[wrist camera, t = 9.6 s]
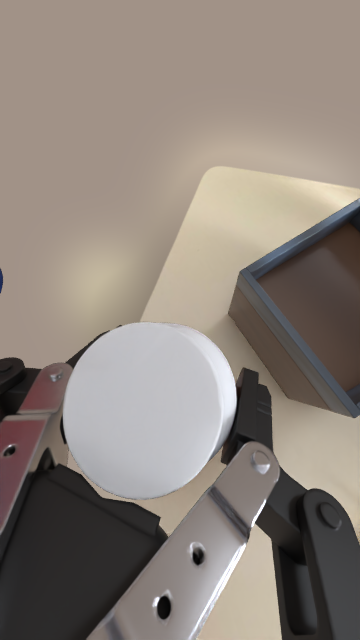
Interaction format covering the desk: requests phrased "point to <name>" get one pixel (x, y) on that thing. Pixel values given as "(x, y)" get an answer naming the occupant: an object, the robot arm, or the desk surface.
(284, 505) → the robot arm
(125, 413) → the pill bottle
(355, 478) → the desk surface
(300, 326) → the cube pen cup
